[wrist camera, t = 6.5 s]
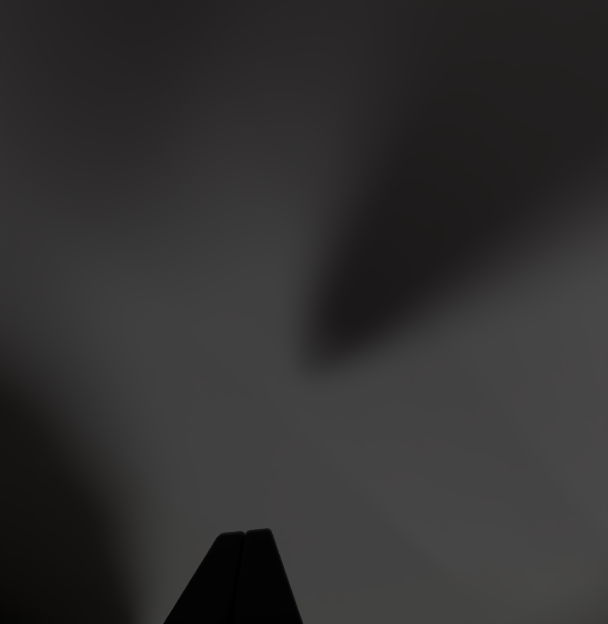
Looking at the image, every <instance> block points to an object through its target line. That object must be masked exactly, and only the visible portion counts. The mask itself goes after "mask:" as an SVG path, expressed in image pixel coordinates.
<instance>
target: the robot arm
mask: <svg viewBox="0 0 608 624" xmlns="http://www.w3.org/2000/svg"><path fill="white" fill-rule="evenodd" d="M164 624H303V622H302V619H301V616H300V613H299V610H298V607H297V604H296V601H295V598H294V595H293V592H292V589H291V587H290V584H289V581H288V578H287V575H286V572H285V569H284V566H283V563H282V560H281V557H280V554H279V551H278V548H277V545H276V542H275V540H274V537H273V534H272V531H271V530H270V529H268V528H266V529H256V530H249V531H247V532H246V534H245V533H244V532H242V531H237V532H227V533H222V534H220V535H219V536H218V537H217V538H216V540H215V541H214V543H213V544H212V546H211V548H210V549H209V551H208V553H207V554H206V556H205V557H204V559H203V561H202V562H201V564H200V565H199V567H198V569H197V570H196V572H195V574H194V575H193V577H192V578H191V580H190V582H189V583H188V585H187V586H186V588H185V590H184V591H183V593H182V595H181V596H180V598H179V599H178V601H177V603H176V604H175V606H174V607H173V609H172V611H171V612H170V614H169V615H168V617H167V619H166V620H165V622H164Z"/></svg>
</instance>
